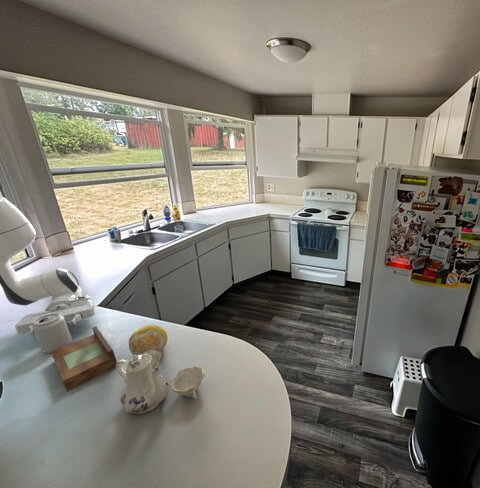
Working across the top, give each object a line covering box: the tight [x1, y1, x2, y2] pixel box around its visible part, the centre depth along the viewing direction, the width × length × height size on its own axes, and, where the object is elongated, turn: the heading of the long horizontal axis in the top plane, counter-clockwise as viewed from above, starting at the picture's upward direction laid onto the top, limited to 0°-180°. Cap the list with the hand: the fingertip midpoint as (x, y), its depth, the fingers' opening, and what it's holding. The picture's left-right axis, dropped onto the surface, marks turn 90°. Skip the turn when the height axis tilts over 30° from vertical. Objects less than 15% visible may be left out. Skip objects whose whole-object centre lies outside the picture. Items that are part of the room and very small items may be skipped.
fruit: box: [128, 324, 168, 356], centre depth 85 cm, size 10×11×10 cm
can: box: [32, 313, 73, 354], centre depth 86 cm, size 8×8×12 cm
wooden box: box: [51, 326, 118, 392], centre depth 80 cm, size 12×18×7 cm, turn 53°
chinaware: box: [115, 350, 205, 416], centre depth 71 cm, size 28×17×17 cm, turn 74°
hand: (53, 328), depth 87 cm, fingers open, 8 cm apart
